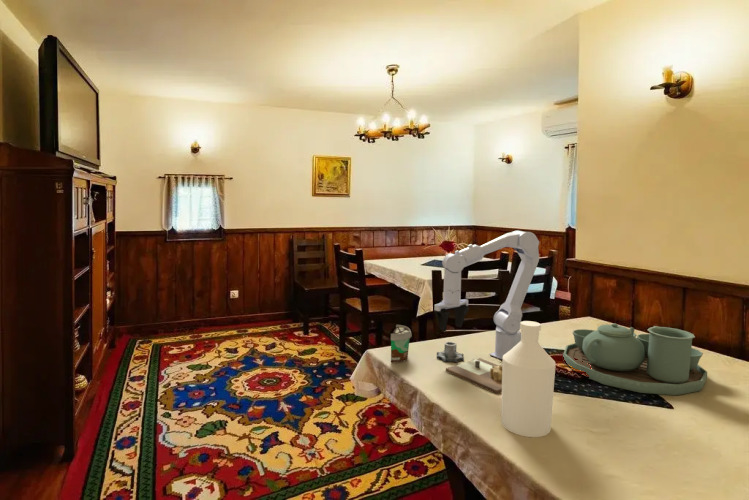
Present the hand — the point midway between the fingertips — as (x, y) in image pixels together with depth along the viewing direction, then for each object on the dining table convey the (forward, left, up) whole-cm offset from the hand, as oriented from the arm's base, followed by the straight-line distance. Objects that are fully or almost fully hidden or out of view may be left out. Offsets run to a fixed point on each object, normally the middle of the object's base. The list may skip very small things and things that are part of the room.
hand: (451, 328), depth 149 cm
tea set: (-41, +40, -11) cm, 58 cm away
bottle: (+18, +43, -11) cm, 47 cm away
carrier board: (+2, +18, -10) cm, 21 cm away
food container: (+14, -9, -11) cm, 20 cm away
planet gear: (0, 0, -10) cm, 10 cm away
